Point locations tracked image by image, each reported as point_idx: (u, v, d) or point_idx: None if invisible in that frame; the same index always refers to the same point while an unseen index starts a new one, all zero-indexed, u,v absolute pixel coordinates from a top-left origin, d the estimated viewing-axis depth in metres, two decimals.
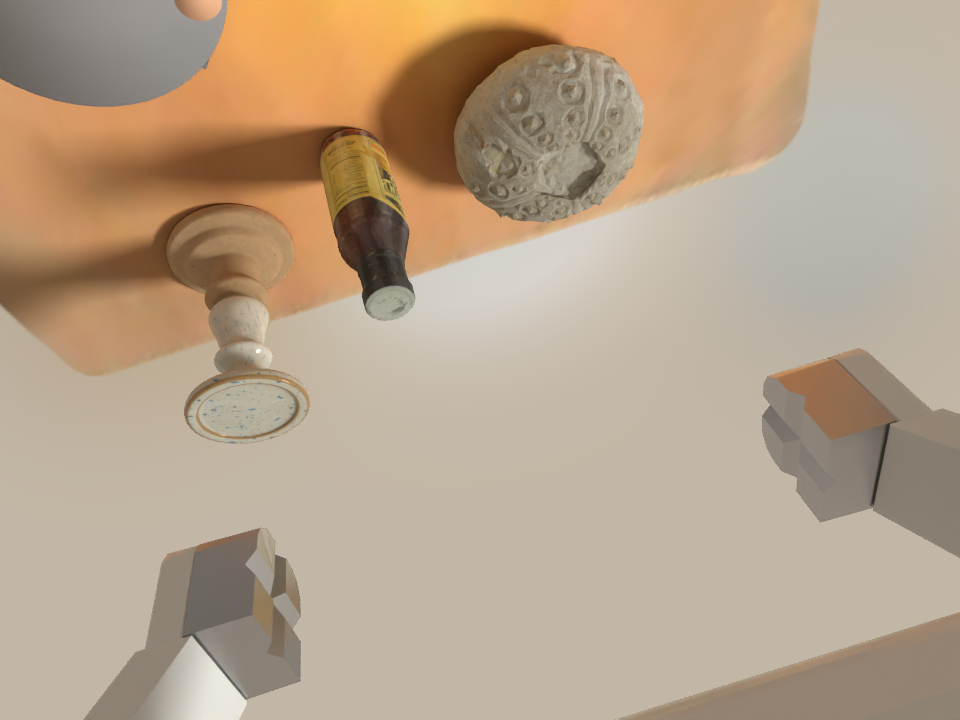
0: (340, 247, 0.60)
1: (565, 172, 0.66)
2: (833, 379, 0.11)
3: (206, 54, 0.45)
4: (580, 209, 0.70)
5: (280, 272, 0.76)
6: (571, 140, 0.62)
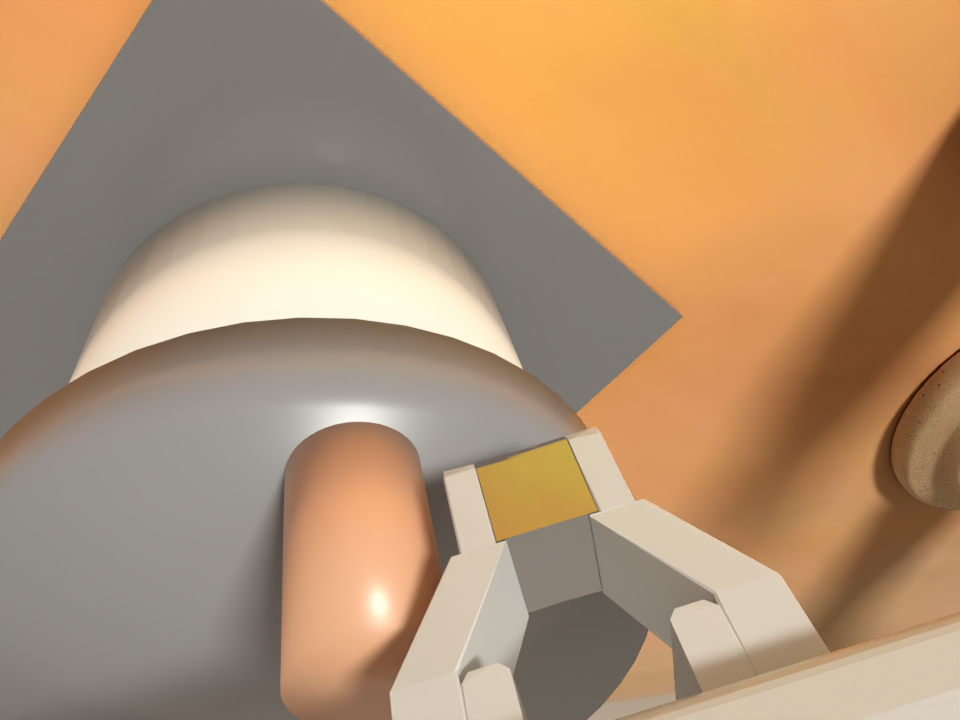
0: None
1: None
2: (557, 462, 0.10)
3: None
4: None
5: None
6: None
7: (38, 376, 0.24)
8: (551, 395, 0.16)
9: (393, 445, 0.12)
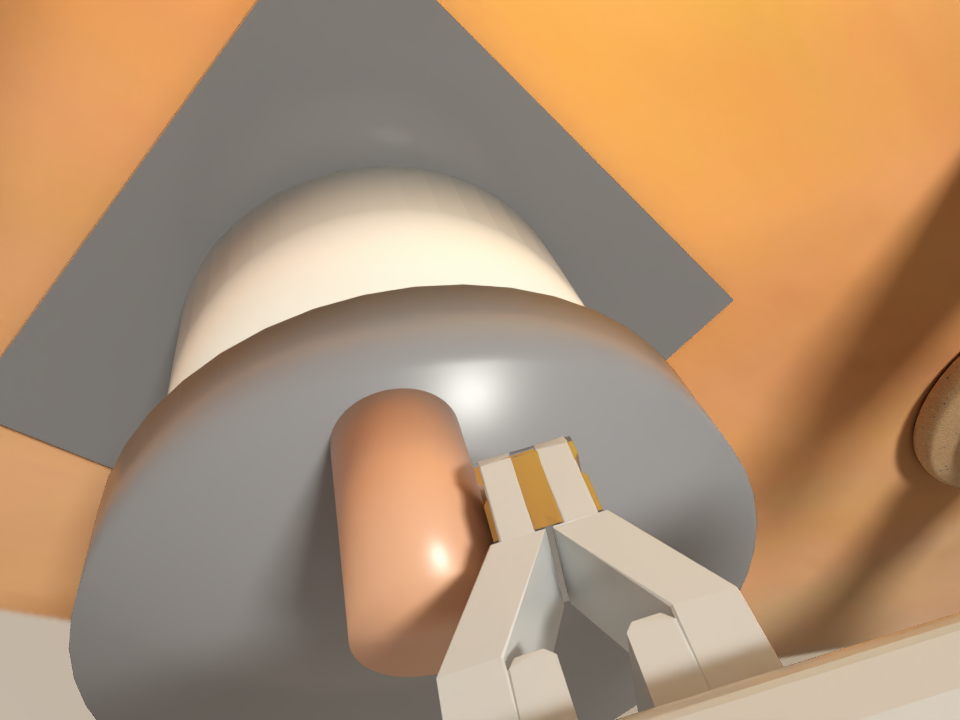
0: None
1: None
2: (523, 472, 0.10)
3: (669, 410, 0.15)
4: None
5: None
6: None
7: (123, 354, 0.24)
8: (583, 311, 0.16)
9: (416, 405, 0.12)
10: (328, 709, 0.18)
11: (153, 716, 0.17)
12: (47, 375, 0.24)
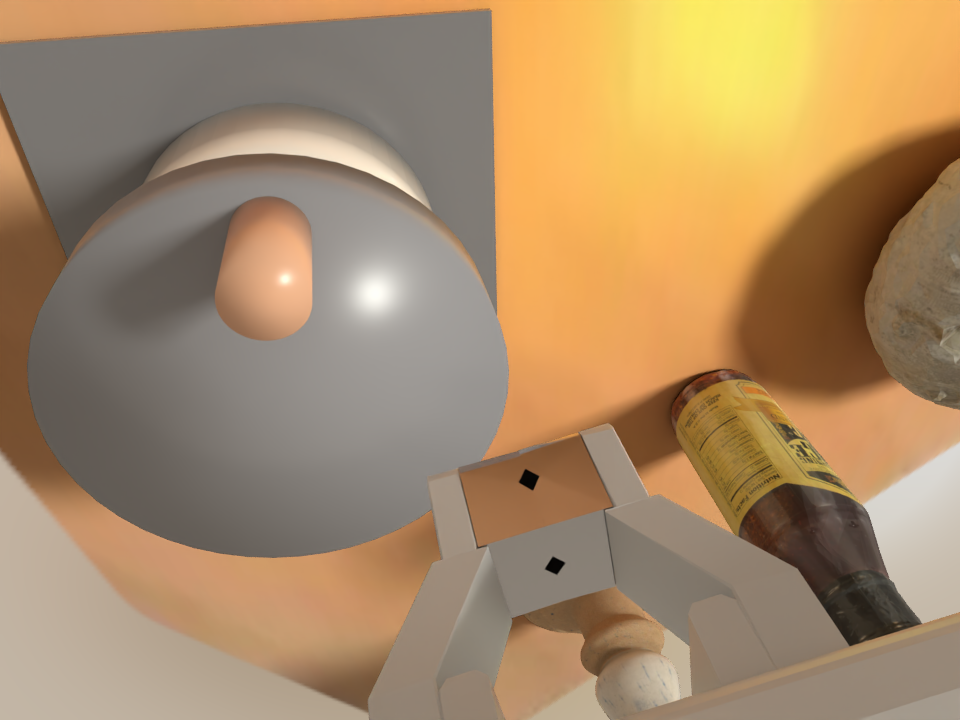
0: None
1: None
2: (571, 457, 0.10)
3: (448, 260, 0.23)
4: None
5: None
6: None
7: (134, 111, 0.30)
8: (412, 199, 0.25)
9: (285, 206, 0.21)
10: (194, 448, 0.26)
11: (72, 416, 0.24)
12: (69, 78, 0.29)
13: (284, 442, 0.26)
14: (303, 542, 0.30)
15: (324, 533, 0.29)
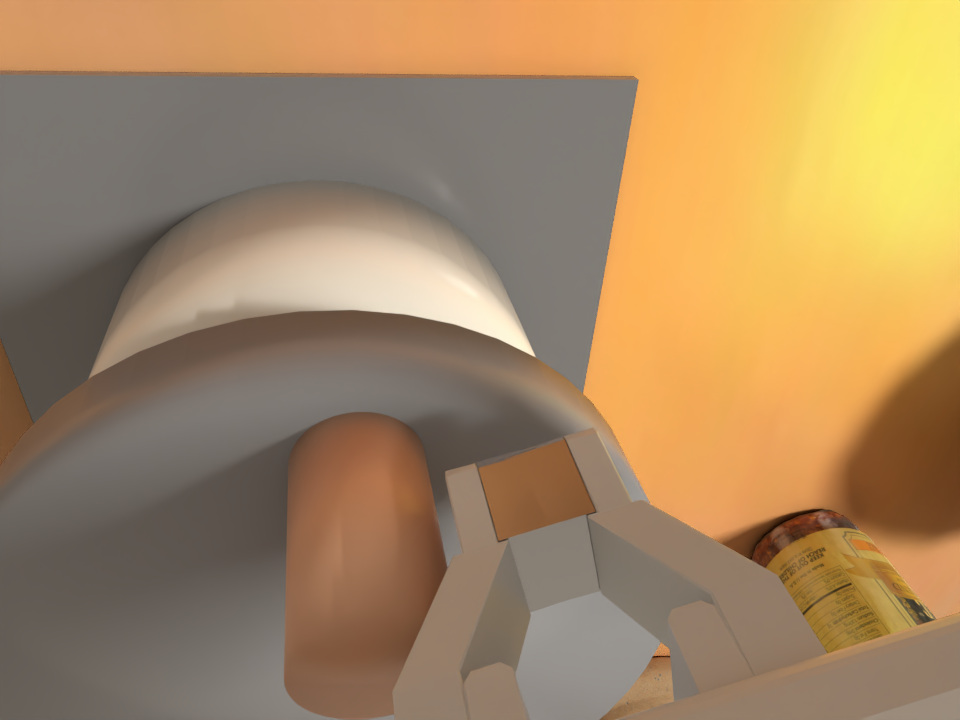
0: None
1: None
2: (555, 462, 0.10)
3: None
4: None
5: None
6: None
7: (125, 180, 0.21)
8: (558, 378, 0.16)
9: (394, 434, 0.12)
10: None
11: None
12: (31, 129, 0.20)
13: (328, 718, 0.17)
14: None
15: None
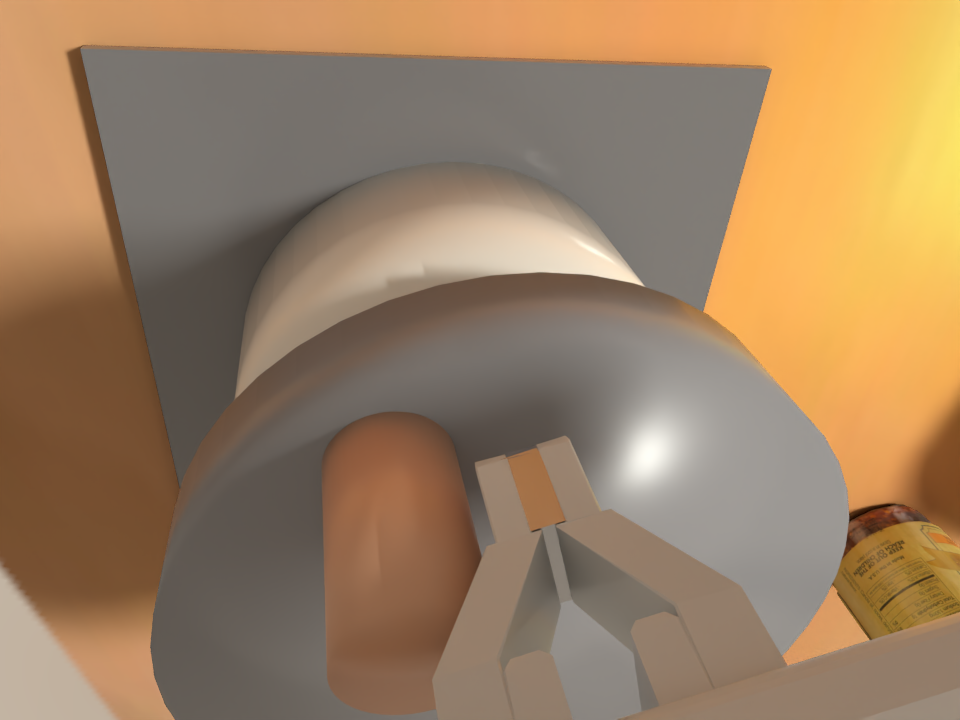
0: None
1: None
2: (526, 471, 0.10)
3: (681, 369, 0.13)
4: None
5: None
6: None
7: (279, 158, 0.21)
8: (575, 281, 0.15)
9: (387, 429, 0.12)
10: None
11: None
12: (198, 106, 0.20)
13: None
14: None
15: None
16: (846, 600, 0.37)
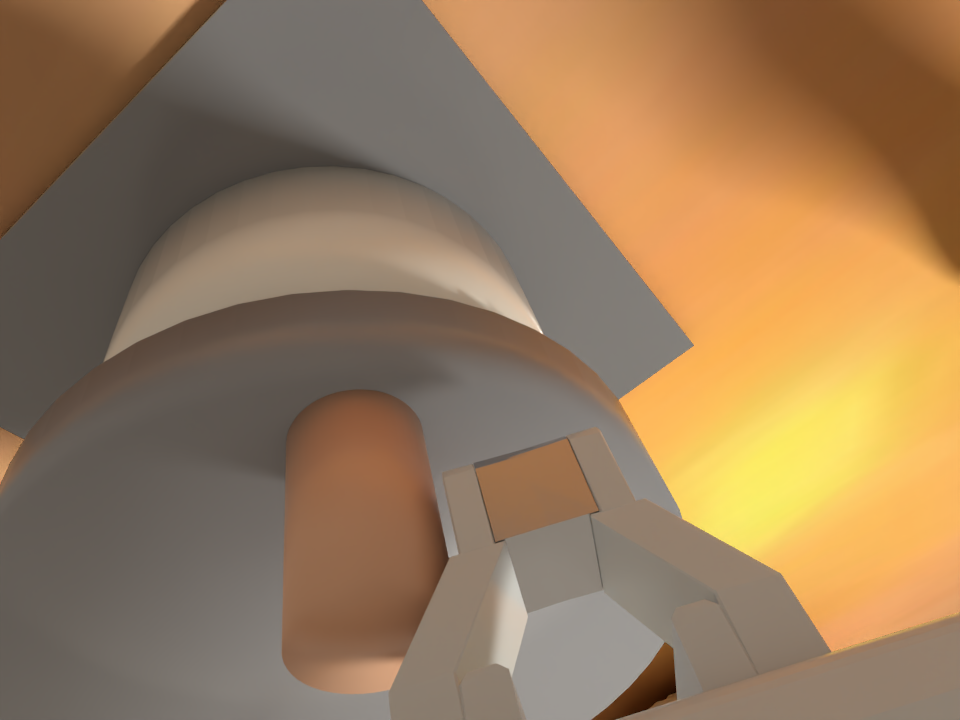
0: None
1: None
2: (558, 461, 0.10)
3: (629, 462, 0.15)
4: None
5: None
6: None
7: (380, 111, 0.21)
8: (559, 350, 0.16)
9: (388, 410, 0.12)
10: (215, 717, 0.17)
11: (23, 698, 0.15)
12: (367, 18, 0.20)
13: (349, 698, 0.18)
14: None
15: None
16: None
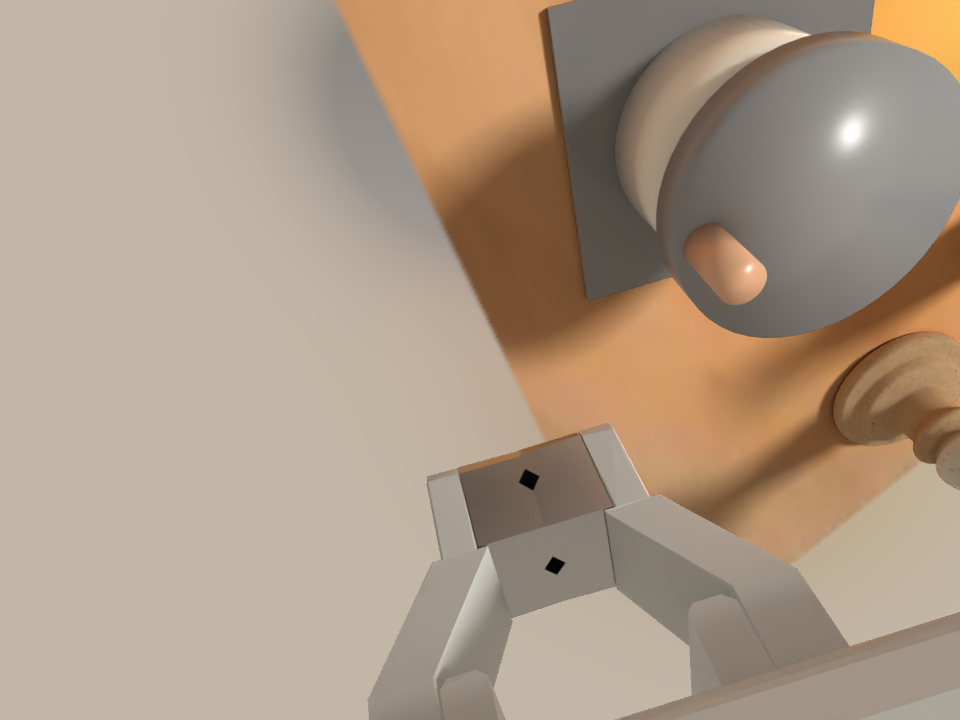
0: None
1: None
2: (571, 457, 0.10)
3: (722, 139, 0.34)
4: None
5: None
6: None
7: (633, 40, 0.42)
8: (680, 145, 0.36)
9: (688, 246, 0.37)
10: (850, 253, 0.40)
11: (815, 315, 0.42)
12: (597, 23, 0.41)
13: (856, 203, 0.38)
14: (955, 167, 0.38)
15: (951, 153, 0.37)
16: None
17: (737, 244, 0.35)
